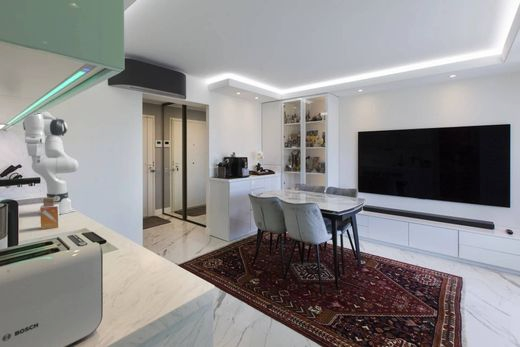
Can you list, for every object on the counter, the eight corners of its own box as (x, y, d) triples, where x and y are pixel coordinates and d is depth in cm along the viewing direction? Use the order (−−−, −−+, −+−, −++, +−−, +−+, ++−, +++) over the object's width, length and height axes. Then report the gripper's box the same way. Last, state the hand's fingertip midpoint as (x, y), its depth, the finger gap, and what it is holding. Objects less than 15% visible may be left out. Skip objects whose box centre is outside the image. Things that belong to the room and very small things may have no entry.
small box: (41, 229, 149) (39, 207, 148) (42, 226, 154) (41, 205, 153) (58, 227, 153) (57, 206, 152) (59, 224, 159) (58, 203, 157)
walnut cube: (45, 205, 153) (44, 197, 153) (54, 204, 156) (54, 197, 155) (43, 206, 149) (43, 199, 149) (53, 206, 152) (53, 198, 151)
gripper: (31, 139, 159) (33, 162, 161) (24, 139, 142) (25, 164, 144) (45, 140, 163) (46, 162, 164) (39, 139, 146) (40, 164, 147)
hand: (36, 163), depth 154 cm, fingers open, 8 cm apart
